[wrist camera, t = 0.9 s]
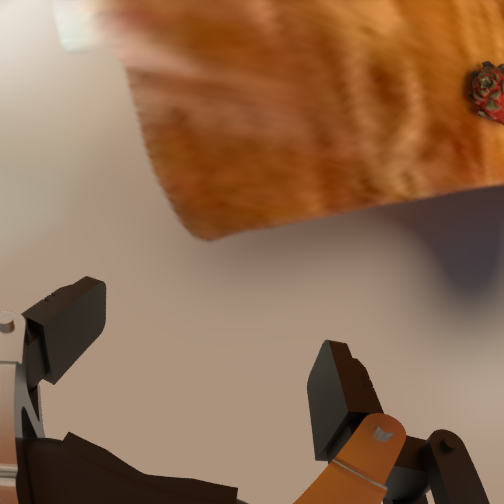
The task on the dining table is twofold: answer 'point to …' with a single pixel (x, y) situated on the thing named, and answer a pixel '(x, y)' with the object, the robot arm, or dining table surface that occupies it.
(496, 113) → the dragon fruit
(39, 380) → the robot arm
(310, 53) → the dining table surface
